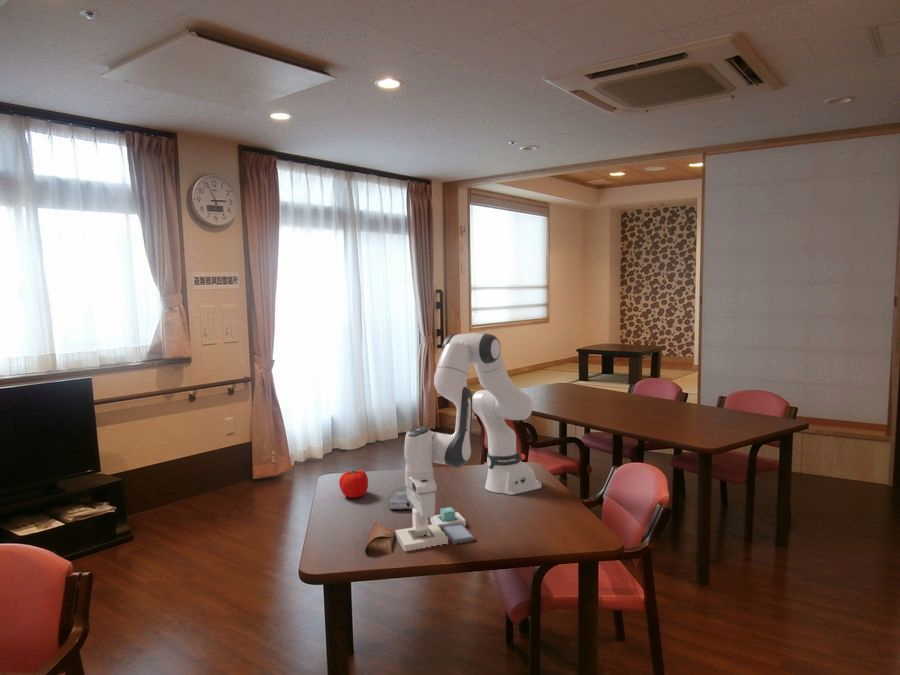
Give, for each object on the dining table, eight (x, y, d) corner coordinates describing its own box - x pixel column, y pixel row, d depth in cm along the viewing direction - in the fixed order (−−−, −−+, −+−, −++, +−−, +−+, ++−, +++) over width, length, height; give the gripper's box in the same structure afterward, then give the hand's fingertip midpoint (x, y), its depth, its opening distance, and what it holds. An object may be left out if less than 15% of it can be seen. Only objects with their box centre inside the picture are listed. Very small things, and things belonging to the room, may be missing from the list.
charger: (424, 524, 189) (424, 506, 189) (428, 529, 185) (427, 510, 185) (412, 526, 188) (412, 508, 187) (415, 531, 184) (415, 512, 184)
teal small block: (451, 521, 202) (451, 506, 202) (455, 525, 198) (455, 510, 198) (440, 522, 201) (440, 508, 200) (444, 527, 197) (443, 512, 197)
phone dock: (457, 517, 205) (457, 511, 205) (479, 540, 186) (478, 534, 186) (430, 521, 202) (430, 516, 201) (449, 545, 183) (448, 539, 183)
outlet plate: (436, 529, 195) (436, 523, 195) (448, 544, 184) (447, 537, 184) (395, 536, 191) (395, 529, 190) (404, 551, 179) (404, 544, 179)
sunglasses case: (393, 554, 177) (381, 536, 177) (373, 566, 178) (361, 548, 177) (398, 530, 195) (387, 513, 195) (380, 541, 195) (369, 524, 195)
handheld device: (417, 492, 232) (416, 480, 232) (413, 512, 212) (413, 499, 212) (392, 493, 232) (392, 481, 232) (387, 512, 212) (386, 500, 212)
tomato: (371, 490, 235) (370, 464, 235) (365, 501, 223) (364, 474, 222) (343, 490, 236) (342, 465, 235) (336, 502, 223) (335, 475, 222)
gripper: (401, 470, 194) (402, 511, 195) (418, 490, 175) (419, 535, 176) (419, 468, 196) (420, 508, 197) (438, 487, 177) (439, 532, 178)
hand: (420, 521), depth 186 cm, fingers closed on charger, 4 cm apart
